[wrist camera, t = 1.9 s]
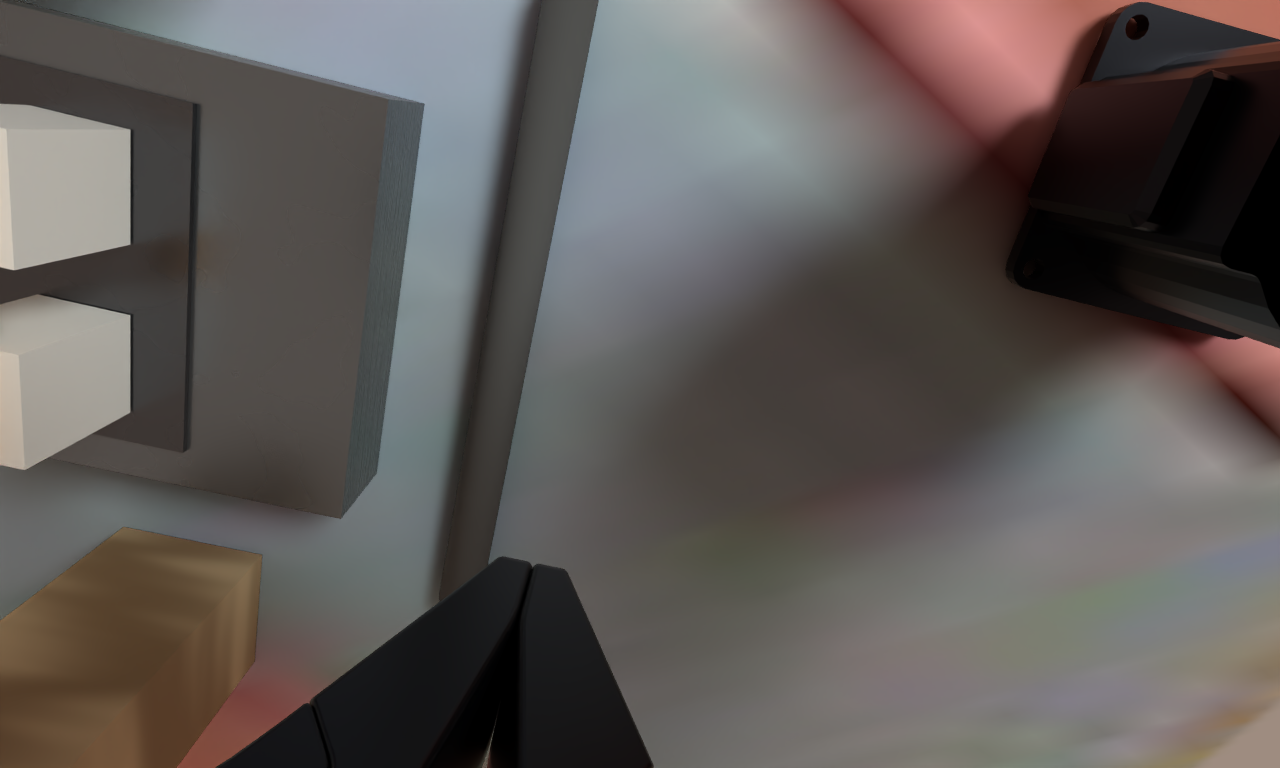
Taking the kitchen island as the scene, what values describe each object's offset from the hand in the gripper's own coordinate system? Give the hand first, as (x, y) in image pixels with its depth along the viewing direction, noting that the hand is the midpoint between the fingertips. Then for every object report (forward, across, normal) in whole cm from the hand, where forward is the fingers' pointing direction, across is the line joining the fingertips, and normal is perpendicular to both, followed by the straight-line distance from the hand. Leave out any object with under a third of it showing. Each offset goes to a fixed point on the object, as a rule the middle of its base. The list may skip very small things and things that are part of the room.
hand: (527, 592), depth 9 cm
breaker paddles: (+8, +11, 0) cm, 14 cm away
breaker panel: (+11, +11, 0) cm, 15 cm away
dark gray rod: (+11, +2, 0) cm, 11 cm away
